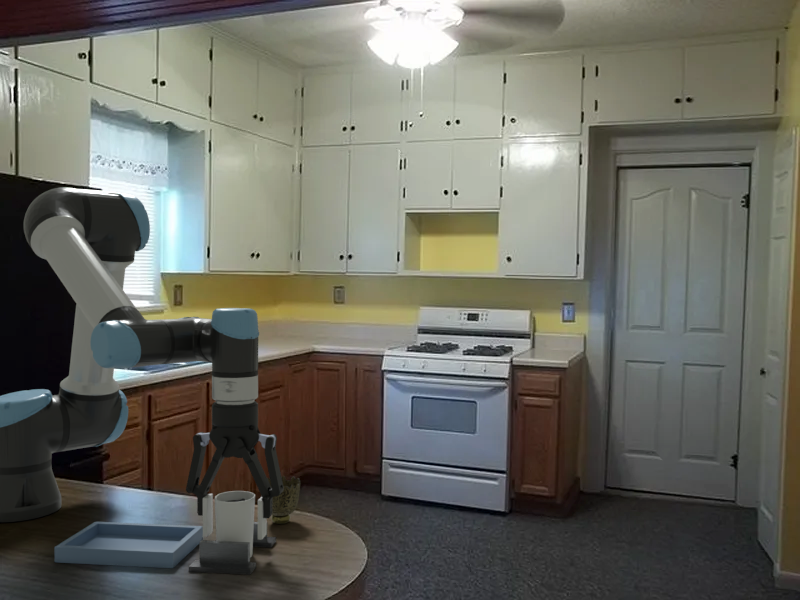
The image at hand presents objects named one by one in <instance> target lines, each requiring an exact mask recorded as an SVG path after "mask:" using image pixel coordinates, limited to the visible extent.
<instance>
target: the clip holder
mask: <svg viewBox="0 0 800 600" xmlns="http://www.w3.org/2000/svg"><path fill="white" fill-rule="evenodd" d="M267 527H268V521H267ZM276 542H277V537H276V536H268V533H267V534H266V536H265V537H264V538H263V539H262V540H258V521H254V531H253V548H256V547H257V548H273V546H275V544H276ZM198 545H199V546H198V547H199V556H198V558H199V559H195V560H194V561H192V563H191V564H190V565H189V566H188V572H192V573H210V574H211V573H212V574H229V575H231V574H232V575H249V576H250V575H251V574H252V573H253V572H254V570H255V569H256V568H257V562H256V561H251V557H250V542H231V541H216V539H215V540H204V539H203V540H201V541H200V542H199V544H198Z"/></svg>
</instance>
